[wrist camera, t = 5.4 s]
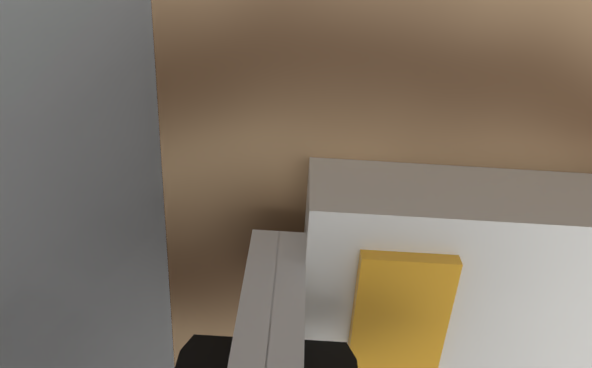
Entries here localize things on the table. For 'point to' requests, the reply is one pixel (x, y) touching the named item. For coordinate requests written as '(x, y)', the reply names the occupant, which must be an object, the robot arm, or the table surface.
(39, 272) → the table surface
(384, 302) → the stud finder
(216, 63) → the wooden pallet
